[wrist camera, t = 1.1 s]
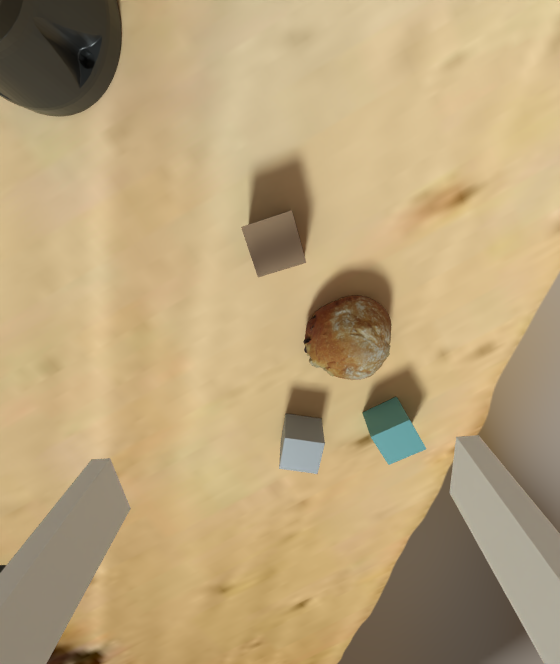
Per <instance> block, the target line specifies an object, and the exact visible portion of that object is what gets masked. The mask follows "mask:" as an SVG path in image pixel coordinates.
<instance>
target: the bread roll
mask: <svg viewBox="0 0 560 664" xmlns="http://www.w3.org/2000/svg"><path fill="white" fill-rule="evenodd" d="M390 339H391V321H390V317H389V315H388V313H387V311H386V310H385V309H384V308H383V307H382V306H381V305H380V304H379V303H378V302H376V301H374V300H372V299H370V298H368V297H363V296H358V295H352V296H348V297H344V298H342V299H339V300H337V301H334V302H332V303H329V304H327V305H325V306H323V307H321V308H320V309H319V310H317V311H316V312H315V313H314V315H313V316H312V318H311V319H310V321H309V322H308V324H307V326H306V334H305V340H304V344H305V349H304V350H305V352H306V353H307V355H308V356H310V359H309V362H310V364H311V365H312V366H314V367H320V368H323V369H324V370H325V371H327V372H328V373H329V374H330V375H331V376H336V377H339V378H344V379H351V380H360V379H364V378H367V377H370V376H372V375H373V374H374V373H375V372H376V371H377V370H378V369H379V368H380V367H381V366H382V364H383V362H384V361H385V360H386V358H387V357H388V356H389V350H390V345H389V344H390Z"/></svg>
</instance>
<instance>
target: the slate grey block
mask: <svg viewBox="0 0 560 664" xmlns="http://www.w3.org/2000/svg"><path fill="white" fill-rule="evenodd" d="M324 444H325V442H324V434H323V426H322V419H321V418H314V417H307V416H300V415H293V414H286V415H285V421H284V427H283V432H282V438H281V447H280V464H279V469H286V470H293V471H300V472H307V473H315V474H318V470H319V465H320V461H321V457H322V453H323V449H324Z"/></svg>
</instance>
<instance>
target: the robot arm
mask: <svg viewBox="0 0 560 664" xmlns="http://www.w3.org/2000/svg"><path fill="white" fill-rule="evenodd" d="M120 47H121V24H120V15H119V9H118V4H117V0H0V96H1V97H3V98H5V99H6V100H8V101H10V102H12V103H14V104H17V105H19V106H22V107H24V108H27V109H29V110H32V111H34V112H37V113H40V114H44V115H50V116H68V115H73V114H76V113H79V112H82V111H84V110H86V109H87V108H89V107H90V106H92V105H93V104H94V103H96V102H97V101H98V100H99V99H100V98H101V97H102V95H103V94H104V93H105V91H106V90H107V88H108V87H109V85H110V83H111V81H112V79H113V77H114V74H115V71H116V68H117V65H118V60H119V55H120ZM450 494H451V496H452V498H453V500H454V502H455V504H456V505H457V507H458V509H459V511H460V513H461V514H462V516H463V518H464V520H465V522H466V523H467V525H468V527H469V528H470V531H471V532H472V534H473V536H474V538H475V540H476V541H477V543H478V545H479V547H480V549H481V550H482V552H483V554H484V556H485V558H486V560H487V561H488V563H489V565H490V567H491V569H492V570H493V572H494V574H495V576H496V577H497V579H498V581H499V583H500V585H501V587H502V588H503V590H504V592H505V594H506V596H507V597H508V599H509V601H510V603H511V605H512V606H513V608H514V610H515V612H516V614H517V615H518V617H519V619H520V621H521V623H522V624H523V626H524V628H525V630H526V632H527V634H528V635H529V637H530V639H531V641H532V643H533V644H534V646H535V648H536V650H537V651H538V653H539V655H540V657H541V659H542V661H543V662H544V664H560V534H559V532H558V531H557V530H556V529H555V528H554V526H553V525H552V524H551V523H550V522H549V520H548V519H547V518H546V517H545V516H544V514H543V513H542V512H541V511H540V509H539V508H538V507H537V506H536V505H535V503H534V502H533V501H532V500H531V498H530V497H529V496H528V495H527V494H526V492H525V491H524V490H523V489H522V488H521V486H520V485H519V484H518V483H517V481H516V480H515V479H514V478H513V477H512V475H511V474H510V473H509V472H508V471H507V470H506V468H505V467H504V466H503V464H501V462H500V461H499V460H498V458H497V457H496V456H495V455H494V454H493V452H492V451H491V450H490V449H489V447H488V446H487V445H486V444H485V443H484V442H483V440H482V439H481V438H480V437H479V436H462V437H456V444H455V453H454V461H453V469H452V478H451V486H450ZM130 509H131V508H130V506H129V503H128V501H127V499H126V496H125V494H124V491H123V489H122V486H121V484H120V481H119V479H118V476H117V474H116V472H115V469H114V467H113V464H112V462H111V459H110V458H108V459H92V460H91V461H90V462H89V463H88V465H87V466H86V467H85V468H84V470H83V471H82V472H81V473H80V475H79V476H78V477H77V478H76V480H75V481H74V482H73V483H72V485H71V486H70V487H69V488H68V490H67V491H66V492H65V493H64V495H63V496H62V497H61V498H60V500H59V501H58V502H57V503H56V504H55V506H54V507H53V508H52V509H51V511H50V512H49V513H48V514H47V516H46V517H45V518H44V519H43V521H42V522H41V523H40V524H39V526H38V527H37V528H36V529H35V531H34V532H33V533H32V534H31V536H30V537H29V538H28V539H27V540H26V542H25V543H24V544H23V545H22V547H21V548H20V549H19V550H18V552H17V553H16V554H15V555H14V557H13V558H12V559H11V560H10V562H9V563H8V564H7V565H0V664H46V663H47V661H48V659H49V658H50V656H51V654H52V652H53V650H54V648H55V647H56V645H57V643H58V641H59V639H60V637H61V635H62V634H63V632H64V630H65V628H66V626H67V624H68V623H69V621H70V619H71V617H72V615H73V613H74V612H75V610H76V608H77V606H78V604H79V602H80V601H81V599H82V597H83V595H84V593H85V591H86V589H87V588H88V586H89V584H90V582H91V580H92V578H93V577H94V575H95V573H96V571H97V569H98V567H99V566H100V564H101V562H102V560H103V558H104V556H105V555H106V553H107V551H108V549H109V547H110V545H111V543H112V542H113V540H114V538H115V536H116V534H117V532H118V531H119V529H120V527H121V525H122V523H123V521H124V520H125V518H126V516H127V514H128V512H129V510H130Z"/></svg>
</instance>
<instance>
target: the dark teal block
mask: <svg viewBox="0 0 560 664" xmlns="http://www.w3.org/2000/svg"><path fill="white" fill-rule="evenodd" d="M363 416H364V419H365V421H366V424H367V427H368V430H369V433H370V436H371V438H372V440H373V441H374V443H375V444H376V446H377V447H378V449H379V451H380V452H381V454H382V455H383V457H384V458H385V460H386V461H387V463H388V465H389V464H392V463H394V462H397V461H399V460H401V459H404V458H406V457H409V456H411V455H413V454H416V453H418V452H421V451H423V450H425V449H426V447H425V446H424V444H423V442H422V440H421V439H420V437H419V435H418V433H417V431H416V430H415V428H414V426H413V424H412V423H411V421H410V419H409V417H408V416H407V414H406V412H405V410H404V409H403V407H402V405H401V403H400V402H399V400H398V398H397V397H395V398H392V399H390V400H388V401H386V402H384V403H382V404H380V405H378V406H375V407H373V408H371V409H369V410H367V411H365V412H363Z"/></svg>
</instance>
